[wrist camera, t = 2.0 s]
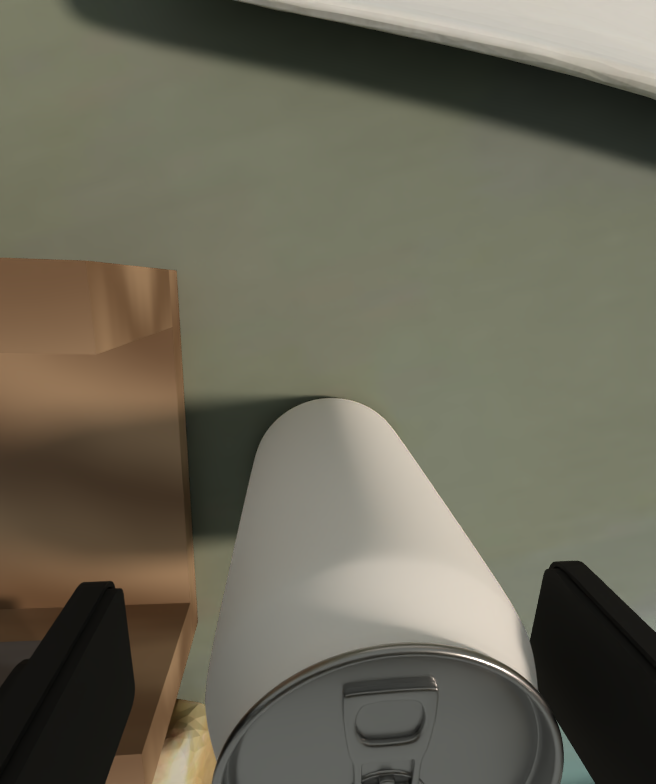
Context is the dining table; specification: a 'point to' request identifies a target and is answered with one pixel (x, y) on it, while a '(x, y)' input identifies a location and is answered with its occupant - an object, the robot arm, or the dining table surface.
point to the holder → (97, 472)
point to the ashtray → (186, 747)
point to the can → (366, 626)
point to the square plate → (517, 31)
